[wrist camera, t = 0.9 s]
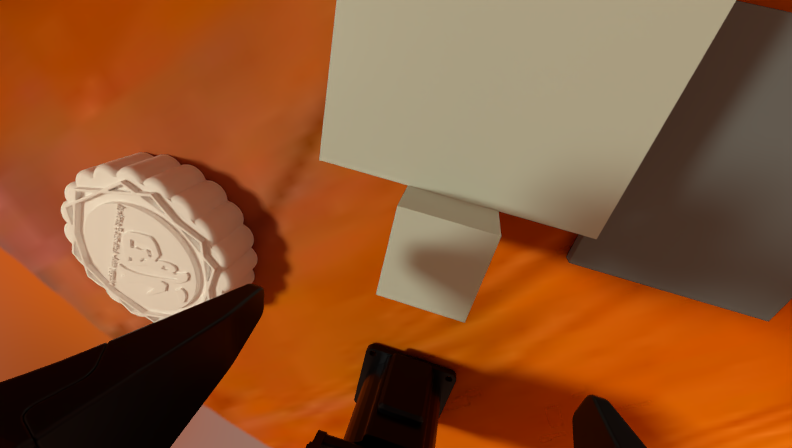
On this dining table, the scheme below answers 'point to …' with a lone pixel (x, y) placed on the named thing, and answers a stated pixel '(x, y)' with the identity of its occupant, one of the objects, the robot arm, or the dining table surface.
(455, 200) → the lid
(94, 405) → the robot arm
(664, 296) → the dining table surface
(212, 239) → the mooncake
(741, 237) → the mat
